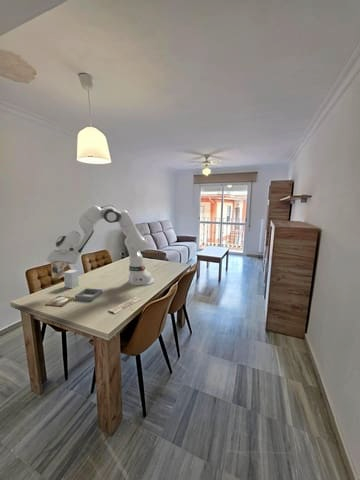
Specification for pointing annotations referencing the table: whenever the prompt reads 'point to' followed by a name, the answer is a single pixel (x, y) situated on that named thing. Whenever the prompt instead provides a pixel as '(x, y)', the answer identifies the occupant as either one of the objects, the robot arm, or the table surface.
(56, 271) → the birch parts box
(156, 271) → the table surface
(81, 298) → the charcoal bin
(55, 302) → the walnut board
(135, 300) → the newspaper
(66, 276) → the supplement box
